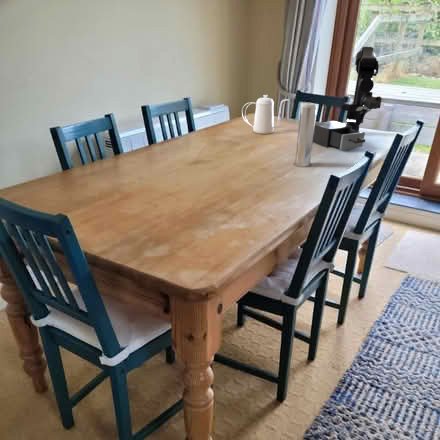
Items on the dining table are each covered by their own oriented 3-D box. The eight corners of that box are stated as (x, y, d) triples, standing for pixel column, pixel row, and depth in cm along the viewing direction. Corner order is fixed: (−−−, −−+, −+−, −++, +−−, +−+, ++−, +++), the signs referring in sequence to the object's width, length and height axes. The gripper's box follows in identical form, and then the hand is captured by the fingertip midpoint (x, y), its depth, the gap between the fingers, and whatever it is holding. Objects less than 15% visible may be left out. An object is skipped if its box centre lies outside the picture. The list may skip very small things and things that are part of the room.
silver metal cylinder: (309, 167, 195) (316, 105, 182) (294, 166, 196) (300, 104, 183) (310, 162, 201) (317, 102, 187) (295, 161, 202) (301, 101, 188)
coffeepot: (287, 135, 242) (290, 97, 232) (240, 133, 244) (241, 96, 234) (286, 130, 251) (290, 93, 241) (241, 128, 253) (243, 92, 243)
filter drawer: (369, 149, 217) (372, 134, 213) (348, 152, 212) (350, 137, 208) (344, 140, 230) (347, 126, 226) (324, 143, 224) (325, 129, 221)
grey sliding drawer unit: (349, 143, 228) (352, 126, 224) (326, 147, 222) (329, 129, 218) (331, 137, 238) (334, 120, 234) (309, 140, 233) (311, 123, 228)
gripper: (361, 93, 193) (354, 131, 201) (392, 90, 200) (385, 126, 209) (343, 89, 201) (338, 126, 209) (374, 86, 208) (368, 122, 217)
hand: (358, 125), depth 211 cm, fingers closed
